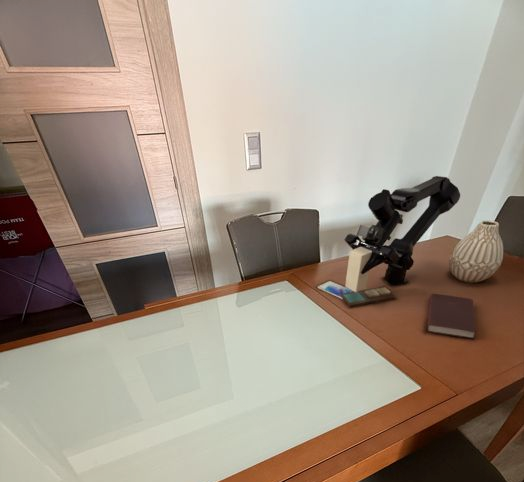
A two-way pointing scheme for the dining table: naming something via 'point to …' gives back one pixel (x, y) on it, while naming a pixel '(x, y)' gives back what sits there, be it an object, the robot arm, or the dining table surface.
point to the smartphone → (334, 288)
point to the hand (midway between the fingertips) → (355, 270)
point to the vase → (478, 253)
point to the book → (451, 316)
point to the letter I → (357, 269)
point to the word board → (367, 296)
